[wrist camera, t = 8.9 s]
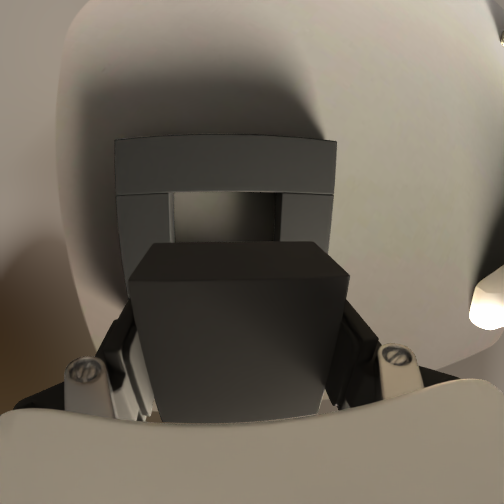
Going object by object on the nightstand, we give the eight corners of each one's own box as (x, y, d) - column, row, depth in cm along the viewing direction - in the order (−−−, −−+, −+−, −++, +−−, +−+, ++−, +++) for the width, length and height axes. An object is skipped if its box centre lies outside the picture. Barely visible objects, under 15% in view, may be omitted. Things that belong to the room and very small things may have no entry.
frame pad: (140, 322, 22) (135, 335, 21) (123, 141, 17) (114, 139, 16) (310, 318, 24) (316, 330, 22) (326, 142, 19) (337, 141, 17)
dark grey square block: (170, 367, 12) (161, 422, 9) (152, 242, 10) (126, 280, 7) (298, 362, 13) (317, 413, 10) (314, 241, 11) (350, 275, 8)
